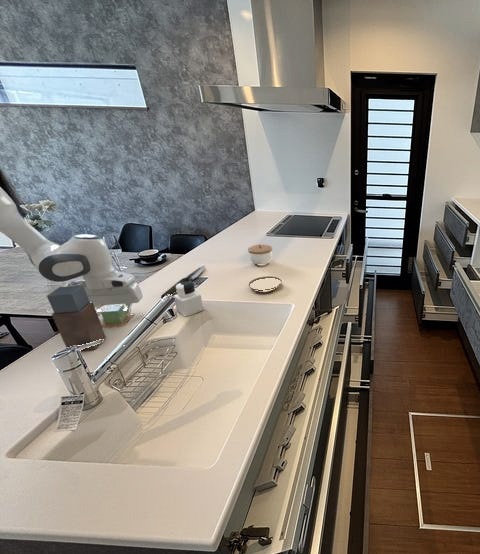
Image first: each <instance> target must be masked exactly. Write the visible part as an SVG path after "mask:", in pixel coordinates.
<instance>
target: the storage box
mask: <svg viewBox="0 0 480 554" xmlns="http://www.w3.org/2000/svg"><path fill="white" fill-rule="evenodd" d="M95 308H96V306H94V304H93V302H89V303H88V304H87V305H86V306H85V307H83V308H82V309H81V310H80V311H79V312H67V313H54V312H53V313H52V314H51V317H52V319H53V321H54V324H55V326H56V328H57V330H58V332H59V335H60V337H61V339H62V341H63V343H64V345H65V347H66V349H67V347H70V346H73V345H82V344H86V343H90V342H93V341H96V340H99V339H104V338H105V339H106V338H107V336H106V333H105V331H104V327H102V325H101V323H102V322H101V321H100V316H98V315H97V312H96V310H95ZM105 339H104V340H105ZM100 345H101V344H97V345H95V346H91V347H89V348H85V349H83V350H81V351H80V352H88V351H96V349H98V348H99V346H100Z"/></svg>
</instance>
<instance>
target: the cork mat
mask: <svg viewBox="0 0 480 554" xmlns="http://www.w3.org/2000/svg"><path fill="white" fill-rule="evenodd" d="M130 314H131V313H130ZM130 314H127V317H126V318H125V319H124V320H123V321H122V322H121V323H113V324H105V322H104V320H103V321H102V322H100V323H101V325H102V328H112V327H122V325H124V326H125V325H126V324H127V323H128V322H129V321H130V319H131V318H132V317H133V316H132V315H130ZM132 314H134V315H135V313H132ZM131 316H132V317H131ZM130 317H131V318H130ZM129 318H130V319H129ZM128 320H129V321H128ZM127 321H128V322H127ZM126 322H127V323H126ZM125 323H126V324H125Z"/></svg>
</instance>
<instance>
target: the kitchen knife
mask: <svg viewBox="0 0 480 554" xmlns="http://www.w3.org/2000/svg"><path fill="white" fill-rule="evenodd" d="M205 267H206V265H202V266H200V267H198V268H196V269H195V270H194V271H192V272H191V273H189V274H187V276H186V277H183V278H181V279H180V280H179V281H178V282H176V283H175V284H173V286H171V287H170V288H169V289H167V290H166V291H165V292H164V293H162V294H161V295H160V297H161V299H163V297H164V296H165V295H167V294H170V295H171V294H173V293H174V292H176V291H177V290H176V285H177V284H179V283H181V282H188V281H189V279H191V280H195V279H196V278H198V276H199V275H200V274H202V272H203V271H204V269H205ZM195 277H196V278H195ZM194 278H195V279H194ZM189 282H190V281H189ZM176 293H177V292H176Z"/></svg>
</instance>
